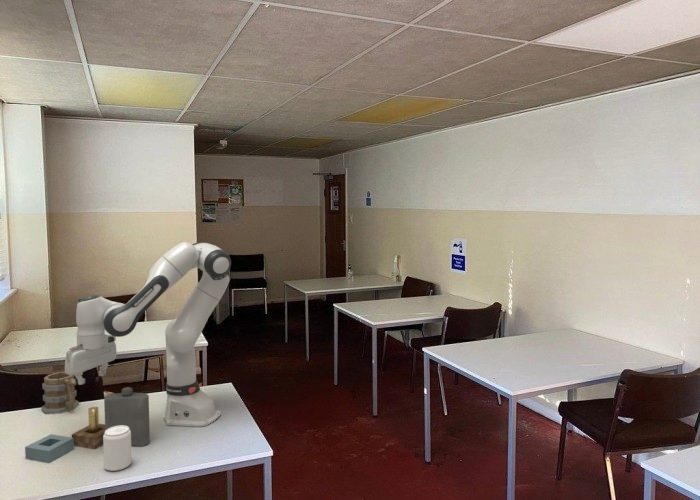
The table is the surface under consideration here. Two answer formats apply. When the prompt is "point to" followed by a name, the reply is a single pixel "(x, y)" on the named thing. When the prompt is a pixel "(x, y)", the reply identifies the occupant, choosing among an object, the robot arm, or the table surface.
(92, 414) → the brass peg
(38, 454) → the slate socket block
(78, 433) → the walnut mount
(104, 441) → the beverage can
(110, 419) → the flask
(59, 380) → the tankard
